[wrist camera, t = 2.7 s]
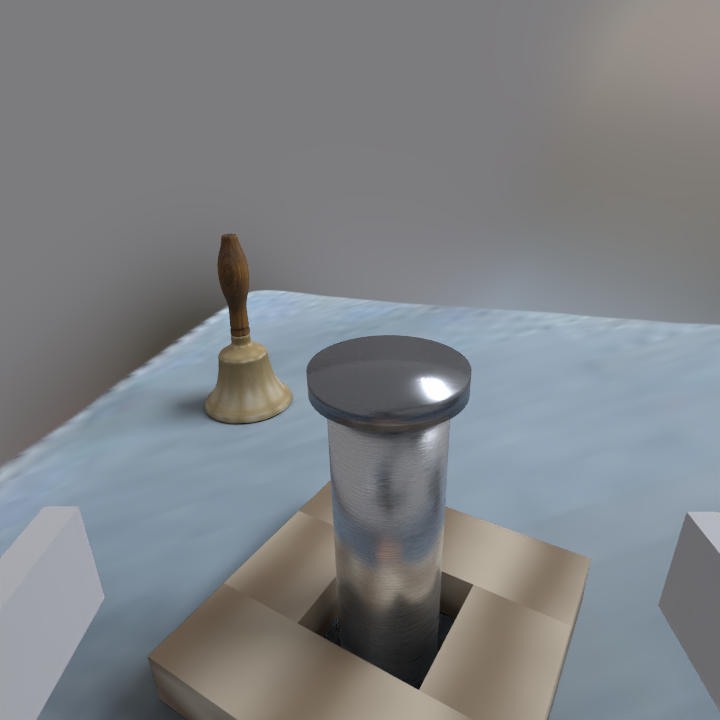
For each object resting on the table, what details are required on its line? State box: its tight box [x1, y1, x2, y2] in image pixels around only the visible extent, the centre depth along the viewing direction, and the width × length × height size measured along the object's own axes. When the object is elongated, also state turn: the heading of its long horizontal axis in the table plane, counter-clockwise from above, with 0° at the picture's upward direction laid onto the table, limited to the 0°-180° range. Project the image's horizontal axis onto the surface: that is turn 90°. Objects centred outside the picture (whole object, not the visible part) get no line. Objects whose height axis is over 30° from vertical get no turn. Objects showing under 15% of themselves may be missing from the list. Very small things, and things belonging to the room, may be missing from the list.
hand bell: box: [205, 234, 293, 424], centre depth 48 cm, size 8×8×16 cm
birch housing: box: [148, 480, 591, 720], centre depth 27 cm, size 16×16×3 cm
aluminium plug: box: [307, 335, 471, 687], centre depth 24 cm, size 6×6×16 cm
